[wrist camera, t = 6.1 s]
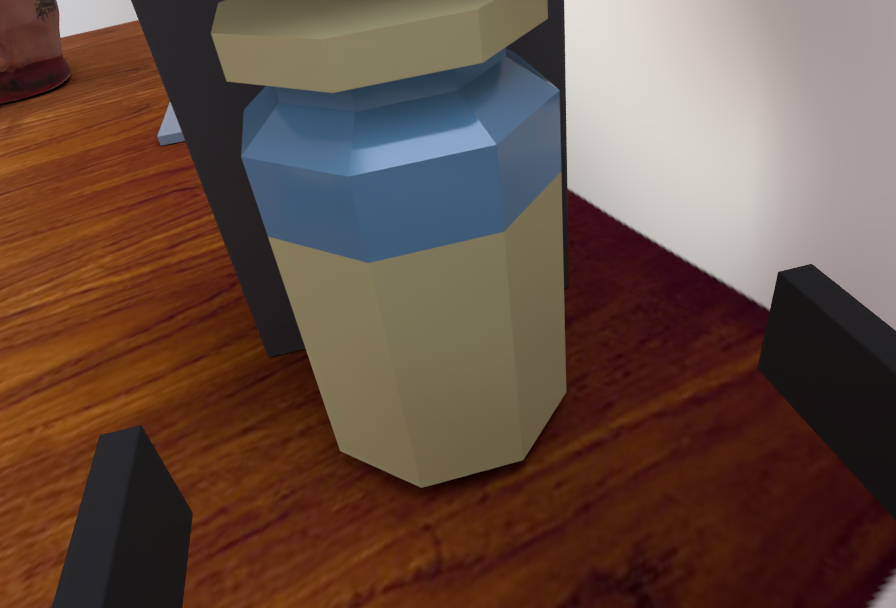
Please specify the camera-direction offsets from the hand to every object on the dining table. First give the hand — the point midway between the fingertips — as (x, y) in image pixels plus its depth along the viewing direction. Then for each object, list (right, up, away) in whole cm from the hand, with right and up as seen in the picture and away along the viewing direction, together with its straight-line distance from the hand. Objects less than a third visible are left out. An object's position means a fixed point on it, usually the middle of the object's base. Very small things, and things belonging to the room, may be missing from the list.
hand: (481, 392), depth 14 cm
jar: (-1, -2, +12) cm, 12 cm away
